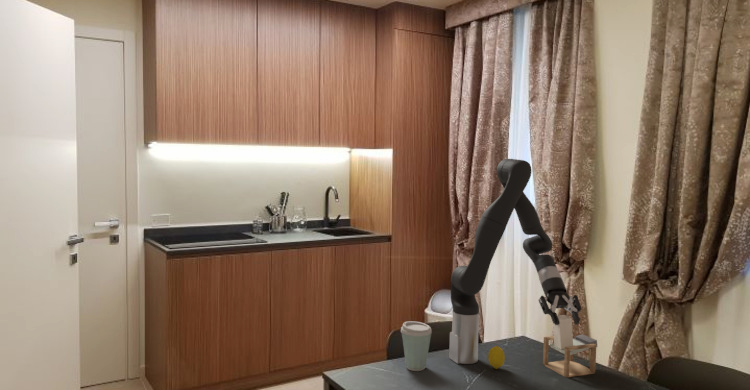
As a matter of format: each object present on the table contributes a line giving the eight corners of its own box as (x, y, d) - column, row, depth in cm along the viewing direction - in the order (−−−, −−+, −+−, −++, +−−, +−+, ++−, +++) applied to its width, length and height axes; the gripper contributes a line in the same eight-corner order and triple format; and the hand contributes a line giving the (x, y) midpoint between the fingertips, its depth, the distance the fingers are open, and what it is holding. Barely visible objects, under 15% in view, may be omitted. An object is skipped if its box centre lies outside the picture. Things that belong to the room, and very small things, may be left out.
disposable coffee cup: (433, 364, 186) (434, 321, 185) (429, 375, 175) (430, 330, 175) (402, 361, 188) (403, 318, 187) (397, 372, 178) (398, 327, 177)
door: (568, 357, 177) (567, 350, 177) (550, 348, 186) (549, 342, 186) (599, 347, 182) (599, 341, 182) (580, 339, 190) (580, 333, 190)
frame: (566, 377, 176) (567, 348, 175) (542, 364, 187) (543, 337, 187) (595, 373, 180) (596, 344, 179) (570, 361, 191) (571, 334, 191)
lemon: (504, 372, 179) (505, 349, 179) (487, 371, 180) (488, 347, 180) (504, 366, 184) (504, 343, 184) (487, 365, 185) (488, 342, 185)
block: (560, 349, 180) (559, 320, 179) (554, 344, 185) (552, 316, 184) (573, 347, 181) (571, 318, 180) (566, 342, 185) (564, 314, 184)
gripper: (536, 276, 187) (552, 318, 176) (574, 275, 190) (592, 317, 179) (529, 288, 193) (543, 329, 182) (566, 287, 195) (582, 328, 184)
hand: (567, 323), depth 180 cm, fingers open, 6 cm apart
